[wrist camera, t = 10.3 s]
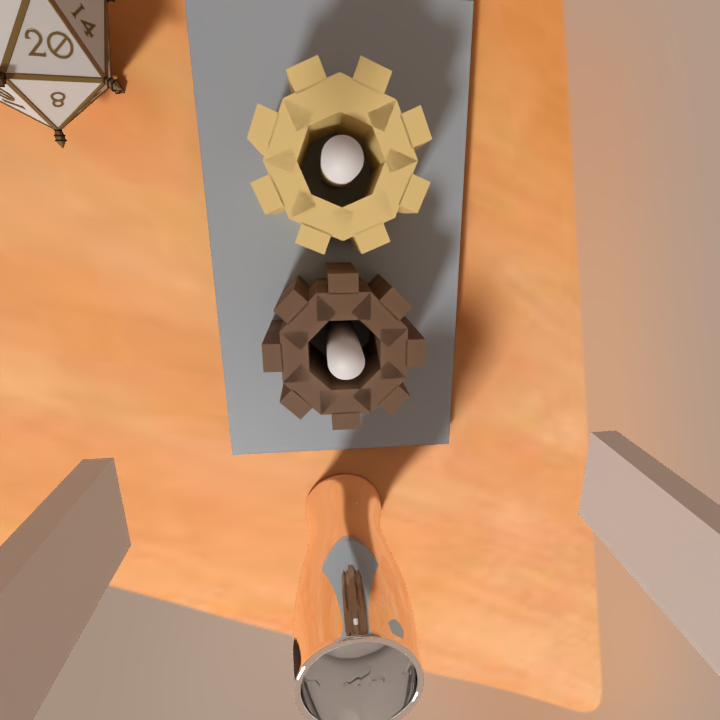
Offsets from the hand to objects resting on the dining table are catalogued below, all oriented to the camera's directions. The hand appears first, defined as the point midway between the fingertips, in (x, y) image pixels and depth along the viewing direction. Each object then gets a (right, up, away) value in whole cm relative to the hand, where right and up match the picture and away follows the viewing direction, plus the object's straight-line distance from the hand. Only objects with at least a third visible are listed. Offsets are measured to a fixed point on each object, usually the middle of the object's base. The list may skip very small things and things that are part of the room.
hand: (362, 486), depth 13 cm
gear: (-2, +15, +15) cm, 22 cm away
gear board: (-2, +11, +18) cm, 21 cm away
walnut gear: (-1, +6, +18) cm, 19 cm away
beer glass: (-1, -8, +24) cm, 26 cm away
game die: (-17, +21, +14) cm, 30 cm away
